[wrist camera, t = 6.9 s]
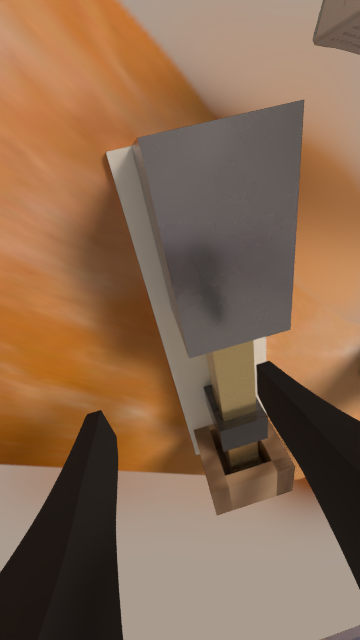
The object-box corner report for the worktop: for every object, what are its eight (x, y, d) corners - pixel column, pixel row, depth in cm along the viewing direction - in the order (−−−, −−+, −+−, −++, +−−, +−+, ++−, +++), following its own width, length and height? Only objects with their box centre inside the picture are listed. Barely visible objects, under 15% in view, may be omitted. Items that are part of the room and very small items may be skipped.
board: (261, 116, 14) (264, 115, 14) (265, 430, 32) (266, 433, 31) (105, 152, 14) (105, 151, 14) (195, 452, 31) (196, 455, 31)
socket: (262, 409, 28) (295, 466, 23) (262, 434, 31) (292, 490, 26) (193, 430, 28) (210, 493, 23) (200, 453, 31) (216, 515, 25)
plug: (236, 286, 19) (267, 320, 15) (247, 432, 30) (267, 474, 26) (185, 300, 19) (203, 338, 15) (214, 442, 29) (229, 486, 25)
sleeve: (240, 120, 14) (304, 99, 9) (248, 288, 20) (290, 329, 15) (131, 146, 14) (137, 137, 9) (172, 309, 19) (189, 358, 15)
